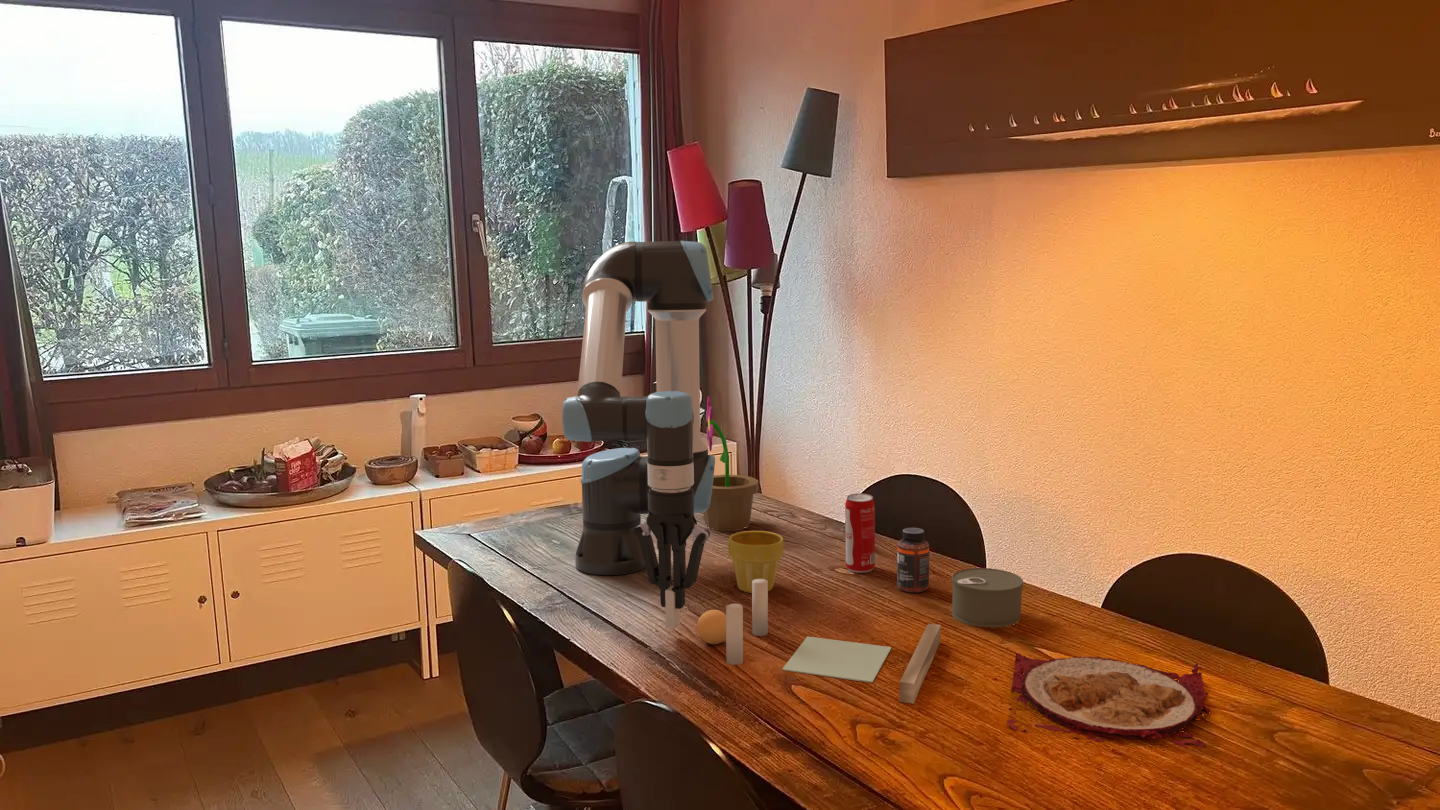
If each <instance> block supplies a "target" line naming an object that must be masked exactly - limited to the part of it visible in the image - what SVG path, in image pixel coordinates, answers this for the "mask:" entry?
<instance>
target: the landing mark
mask: <svg viewBox="0 0 1440 810" xmlns="http://www.w3.org/2000/svg"><path fill="white" fill-rule="evenodd" d="M891 650H892V647H891V646H886V645H878V644H877V645H876V644H869V643H862V642H855V641H854V642H853V641H846V640H837V639H830V638H823V637H815V636H808V635H807V636H806V638H804V640H803V641H802V643H801V644H800V645H799V647H798V648H797V649H796V651H795V652H794V653H793V654H792V655H791V657H790V658H789V659H788V661H787V662H786V663H785V665H784V666H783V667H782V669H781V670H782V671H785V672H793V673H799V674H807V675H812V676H814V675H815V676H821V677H828V678H829V677H830V678H836V679H842V680H849V681H850V680H851V681H856V682H864V683H870V684H872V683H874V680H875V679H876V678H877V676H878V673H879V672H880V670H881V668H882V666H883V665H884V663H885V661H886V659H887V657H888V656H889V654H890V651H891Z"/></svg>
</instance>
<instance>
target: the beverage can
mask: <svg viewBox="0 0 1440 810" xmlns="http://www.w3.org/2000/svg"><path fill="white" fill-rule="evenodd" d="M875 505H876V504H875V500H874V496H873V495H871V494H869V493H861V492H860V493H851V494H849V495H847V496H846V500H845V505H844V506H845V507H844V508H845V513H844V515H845V516H844V517H845V524H844V525H845V567H846V568H847V570H848V571H849V572H853V573H862V574H863V573H870V572H871V571H873V570H874V569H875V566H876V562H875V561H876V553H875V552H876V549H875V547H876V540H875V538H876V532H875V531H876V530H875V529H876V521H875V520H876V514H875V513H876V509H875V508H876V507H875Z"/></svg>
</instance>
